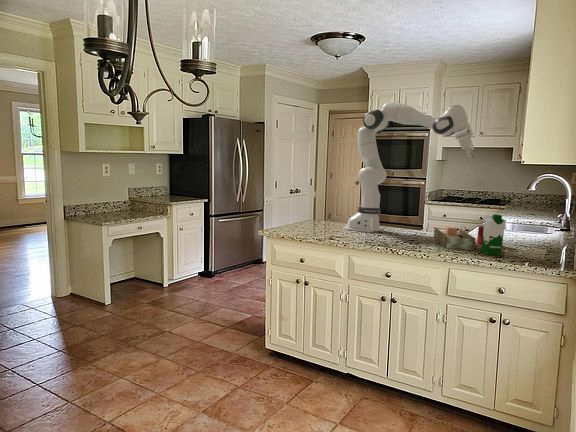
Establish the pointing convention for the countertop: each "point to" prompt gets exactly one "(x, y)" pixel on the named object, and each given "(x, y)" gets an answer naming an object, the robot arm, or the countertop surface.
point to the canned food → (480, 234)
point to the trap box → (455, 240)
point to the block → (451, 230)
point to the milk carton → (493, 235)
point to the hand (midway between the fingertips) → (471, 158)
